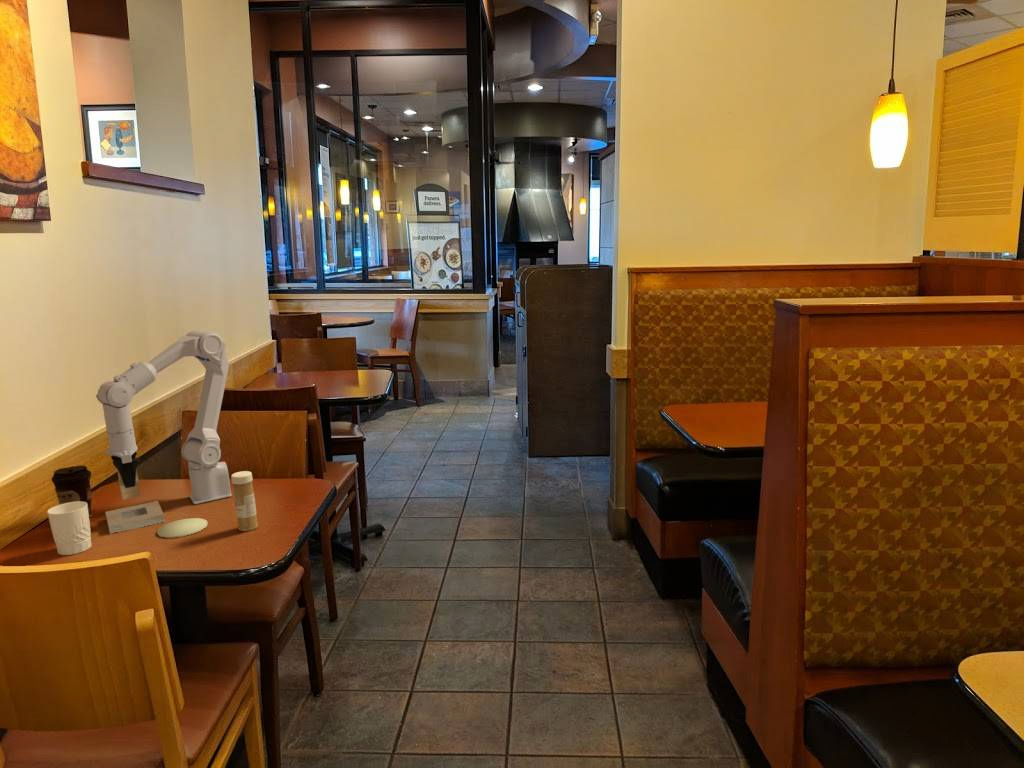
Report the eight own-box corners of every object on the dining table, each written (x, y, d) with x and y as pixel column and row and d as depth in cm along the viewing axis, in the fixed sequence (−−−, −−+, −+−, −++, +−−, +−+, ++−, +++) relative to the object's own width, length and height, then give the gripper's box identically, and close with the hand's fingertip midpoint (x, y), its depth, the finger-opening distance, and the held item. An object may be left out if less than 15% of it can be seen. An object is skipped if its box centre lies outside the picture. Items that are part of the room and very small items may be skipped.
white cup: (65, 543, 176) (57, 502, 174) (100, 540, 176) (93, 500, 174) (48, 558, 168) (39, 515, 166) (85, 555, 169) (77, 512, 167)
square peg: (139, 491, 189) (134, 461, 188) (141, 496, 186) (135, 464, 184) (121, 495, 187) (116, 464, 186) (122, 499, 184) (117, 468, 182)
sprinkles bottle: (234, 529, 179) (226, 474, 176) (251, 523, 182) (244, 469, 179) (245, 533, 176) (237, 477, 173) (262, 526, 179) (255, 472, 176)
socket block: (158, 508, 196) (157, 500, 196) (164, 521, 186) (163, 514, 186) (106, 519, 190) (105, 511, 190) (110, 534, 180) (108, 526, 180)
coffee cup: (79, 525, 187) (70, 474, 185) (51, 524, 189) (41, 474, 186) (105, 512, 196) (96, 463, 193) (77, 511, 197) (68, 463, 195)
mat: (203, 516, 188) (203, 514, 188) (211, 530, 179) (211, 528, 179) (154, 527, 183) (154, 525, 183) (160, 542, 173) (160, 540, 173)
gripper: (99, 428, 188) (109, 480, 190) (103, 440, 175) (113, 496, 178) (131, 422, 191) (140, 474, 194) (137, 434, 179) (146, 489, 182)
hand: (129, 484), depth 186 cm, fingers closed on square peg, 4 cm apart
